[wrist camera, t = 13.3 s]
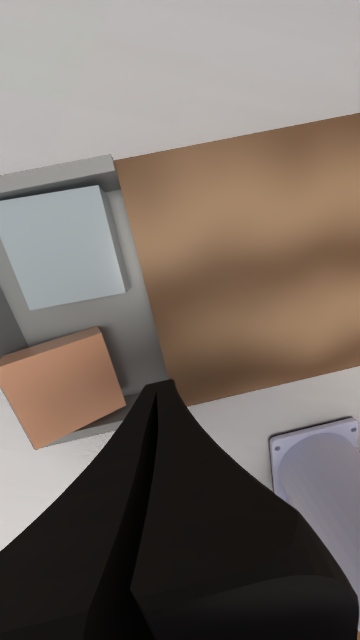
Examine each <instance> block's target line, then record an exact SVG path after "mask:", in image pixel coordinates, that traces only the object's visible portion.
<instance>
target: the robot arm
mask: <svg viewBox="0 0 360 640" xmlns="http://www.w3.org/2000/svg"><path fill="white" fill-rule="evenodd" d="M358 431H359V422H358V421H357V420H356V419H355V418H348V419H344V420H340V421H336V422H332V423H328V424H324V425H320V426H315V427H311V428H307V429H303V430H299V431H295V432H291V433H287V434H283V435H278V436H274V437H272V438H271V439H270V453H271V464H272V475H273V487H274V492H272V491H271V490H270V489H268V488H267V487H266V486H264V485H263V484H262V483H260V482H259V481H258V480H257V479H256V478H254V477H253V476H252V475H251V474H250V473H248V472H247V471H246V470H245V469H243V468H242V467H241V466H240V465H239V464H238V463H237V462H236V461H235V460H234V459H232V458H231V457H230V456H229V455H228V454H227V453H226V452H225V451H224V450H223V449H222V448H221V447H220V446H219V445H218V444H217V443H216V442H215V441H214V440H213V439H212V438H211V437H210V436H209V435H208V434H207V433H206V432H205V430H204V429H203V428H202V427H201V426H200V424H199V423H198V422H197V421H196V419H195V418H194V417H193V415H192V414H191V413H190V411H189V410H188V408H187V407H186V405H185V404H184V402H183V400H182V399H181V397H180V395H179V393H178V391H177V389H176V385H175V381H174V380H173V379H168V380H164V381H160V382H155V383H151V384H147V385H145V386H144V388H143V389H142V391H141V393H140V394H139V396H138V398H137V399H136V401H135V403H134V404H133V406H132V408H131V409H130V411H129V412H128V414H127V415H126V417H125V419H124V420H123V422H122V423H121V424H120V426H119V427H118V429H117V430H116V431H115V433H114V434H113V436H112V437H111V439H110V440H109V441H108V442H107V444H106V445H105V446H104V448H103V449H102V450H101V451H100V452H99V454H98V455H97V456H96V457H95V458H94V460H93V461H92V462H91V463H90V464H89V465H88V467H87V468H86V469H85V470H84V471H83V472H82V473H81V474H80V475H79V476H78V477H77V478H76V479H75V480H74V482H73V483H72V484H71V485H70V486H69V487H68V488H67V489H66V490H65V491H64V492H63V493H62V494H61V495H60V496H59V497H58V498H57V499H56V500H55V501H54V502H53V503H52V504H51V505H50V506H49V507H48V508H47V509H46V510H45V511H44V512H43V513H42V514H41V515H40V516H39V517H38V518H37V519H36V520H35V521H33V522H32V523H31V524H30V525H29V526H28V527H27V528H26V529H25V530H24V531H23V532H22V533H21V534H19V535H18V536H17V537H16V538H15V539H14V540H13V541H12V542H11V543H9V544H8V545H7V546H6V547H5V548H4V549H3V550H1V551H0V640H357V632H358V631H359V632H360V451H359V450H358V449H357V443H358Z"/></svg>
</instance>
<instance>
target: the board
mask: <svg viewBox="0 0 360 640" xmlns="http://www.w3.org/2000/svg"><path fill="white" fill-rule="evenodd" d="M114 163H115V167H116V171H117V175H118V179H119V183H120V187H121V191H122V195H123V199H124V203H125V207H126V211H127V215H128V219H129V223H130V227H131V231H132V235H133V239H134V243H135V247H136V250H137V254H138V258H139V262H140V266H141V270H142V274H143V278H144V282H145V286H146V290H147V294H148V298H149V302H150V306H151V310H152V314H153V318H154V322H155V326H156V330H157V334H158V338H159V342H160V346H161V350H162V354H163V358H164V362H165V366H166V370H167V374H168V378H169V379H173V380H174V381H175V385H176V389H177V391H178V393H179V395H180V397H181V399H182V400H183V402H184V404H185V405H186V407H187V406H192V405H196V404H200V403H204V402H209V401H213V400H217V399H221V398H226V397H230V396H234V395H238V394H243V393H247V392H251V391H255V390H260V389H264V388H268V387H272V386H277V385H281V384H285V383H289V382H294V381H298V380H302V379H306V378H310V377H315V376H319V375H323V374H327V373H332V372H336V371H340V370H344V369H349V368H353V367H357V366H360V113H357V114H352V115H347V116H341V117H336V118H331V119H326V120H321V121H316V122H310V123H305V124H300V125H295V126H290V127H285V128H280V129H274V130H269V131H264V132H259V133H254V134H249V135H243V136H238V137H233V138H228V139H223V140H218V141H213V142H207V143H202V144H197V145H192V146H187V147H182V148H176V149H171V150H166V151H161V152H156V153H151V154H146V155H140V156H135V157H130V158H125V159H120V160H115V161H114Z"/></svg>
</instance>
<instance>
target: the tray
mask: <svg viewBox="0 0 360 640" xmlns="http://www.w3.org/2000/svg"><path fill="white" fill-rule="evenodd" d="M96 185H99V186H100V188H101V189H102V190H103V191H104V192H105V194H106V195H107V196H108V197H109V200H110V204H111V208H112V212H113V217H114V221H115V225H116V229H117V233H118V237H119V241H120V245H121V249H122V254H123V258H124V262H125V266H126V270H127V274H128V278H129V282H130V287H131V288H130V289H129V290H128V291H127V292H126V293H121V294H116V295H110V296H105V297H100V298H94V299H89V300H83V301H78V302H72V303H67V304H62V305H56V306H51V307H45V308H40V309H34V310H29V307H28V305H27V302H26V300H25V297H24V295H23V292H22V290H21V287H20V285H19V282H18V280H17V277H16V275H15V273H14V270H13V268H12V265H11V263H10V260H9V258H8V255H7V253H6V250H5V248H4V245H3V243H2V240H1V238H0V359H1V358H2V357H3V356H4V355H7V354H10V353H13V352H16V351H19V350H23V349H26V348H29V347H32V346H35V345H38V344H41V343H45V342H48V341H51V340H54V339H57V338H60V337H64V336H67V335H70V334H73V333H76V332H79V331H82V330H86V329H89V328H92V327H95V326H98V328H99V330H100V331H101V333H102V336H103V339H104V342H105V344H106V347H107V350H108V353H109V356H110V359H111V362H112V365H113V368H114V371H115V374H116V377H117V379H118V382H119V385H120V388H121V391H122V394H123V397H124V400H125V403H126V406H124V407H122V408H120V409H118V410H116V411H114V412H112V413H110V414H108V415H106V416H104V417H102V418H100V419H98V420H96V421H94V422H92V423H90V424H88V425H86V426H84V427H82V428H80V429H78V430H76V431H74V432H72V433H70V434H68V435H66V436H64V437H62V438H60V439H58V440H56V441H54V442H52V443H50V444H48V445H46V446H44V447H47V446H51V445H56V444H60V443H64V442H68V441H72V440H77V439H81V438H85V437H89V436H94V435H98V434H102V433H106V432H111V431H115V430H117V429H118V427H119V426H120V424H121V423H122V422H123V420H124V419H125V417H126V415H127V414H128V412H129V411H130V409H131V408H132V406H133V404H134V403H135V401H136V399H137V398H138V396H139V394H140V393H141V391H142V389H143V388H144V386H145V385H147V384H151V383H155V382H160V381H164V380H168V379H169V378H168V374H167V370H166V366H165V362H164V358H163V354H162V350H161V346H160V342H159V338H158V334H157V330H156V326H155V322H154V318H153V314H152V310H151V306H150V302H149V298H148V294H147V290H146V286H145V282H144V278H143V274H142V270H141V266H140V262H139V258H138V254H137V250H136V247H135V243H134V239H133V235H132V231H131V227H130V223H129V219H128V215H127V211H126V207H125V203H124V199H123V195H122V191H121V187H120V183H119V179H118V175H117V171H116V167H115V163H114V160H113V158H112V156H111V154H109V155H104V156H99V157H93V158H88V159H83V160H78V161H73V162H67V163H62V164H57V165H52V166H47V167H42V168H36V169H31V170H26V171H21V172H16V173H10V174H5V175H0V201H3V200H9V199H15V198H21V197H28V196H34V195H40V194H46V193H52V192H59V191H65V190H71V189H77V188H83V187H89V186H96ZM0 388H1V386H0ZM1 390H2V388H1ZM2 391H3V390H2ZM3 393H4V392H3ZM4 395H5V393H4ZM5 397H6V395H5ZM6 399H7V397H6ZM7 401H8V399H7ZM8 402H9V401H8ZM9 404H10V402H9ZM10 406H11V404H10ZM11 408H12V406H11ZM12 410H13V408H12ZM13 411H14V410H13ZM14 413H15V411H14ZM15 415H16V413H15ZM16 417H17V415H16ZM17 419H18V417H17ZM18 421H19V419H18ZM19 422H20V421H19ZM20 424H21V422H20ZM21 426H22V424H21ZM22 428H23V426H22ZM23 430H24V428H23ZM24 431H25V430H24ZM25 433H26V431H25ZM26 435H27V433H26ZM27 437H28V435H27ZM28 439H29V437H28ZM29 441H30V442H31V440H30V439H29ZM31 444H32V442H31ZM32 446H33V444H32ZM33 448H34V446H33ZM42 448H43V447H42ZM34 449H35V448H34Z"/></svg>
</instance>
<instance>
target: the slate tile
mask: <svg viewBox="0 0 360 640" xmlns="http://www.w3.org/2000/svg"><path fill="white" fill-rule="evenodd" d="M0 238H1V240H2V243H3V245H4V248H5V250H6V253H7V255H8V258H9V260H10V263H11V265H12V268H13V270H14V273H15V275H16V277H17V280H18V282H19V285H20V287H21V290H22V292H23V295H24V297H25V300H26V302H27V305H28V307H29V310H34V309H40V308H45V307H51V306H56V305H62V304H67V303H72V302H78V301H83V300H89V299H94V298H100V297H105V296H110V295H116V294H121V293H126V292H127V291H128V290H129V289H130V288H131V287H130V282H129V278H128V274H127V270H126V266H125V262H124V258H123V254H122V249H121V245H120V241H119V237H118V233H117V229H116V225H115V221H114V217H113V212H112V208H111V204H110V200H109V197H108V196H107V195H106V194H105V192H104V191H103V190H102V189H101V188H100V186H99V185H96V186H89V187H83V188H77V189H71V190H65V191H59V192H52V193H46V194H40V195H34V196H28V197H21V198H15V199H9V200H3V201H0Z"/></svg>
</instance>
